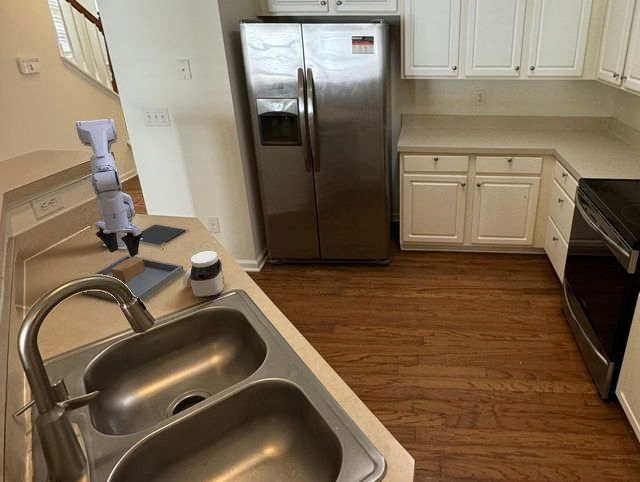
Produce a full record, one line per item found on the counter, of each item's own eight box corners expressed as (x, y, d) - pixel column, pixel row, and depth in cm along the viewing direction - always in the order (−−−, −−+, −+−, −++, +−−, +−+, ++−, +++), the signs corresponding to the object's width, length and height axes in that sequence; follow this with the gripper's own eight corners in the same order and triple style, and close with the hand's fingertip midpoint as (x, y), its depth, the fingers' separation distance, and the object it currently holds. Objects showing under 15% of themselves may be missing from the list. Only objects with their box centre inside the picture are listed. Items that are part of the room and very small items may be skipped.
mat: (128, 240, 152) (127, 238, 152) (154, 226, 163) (154, 224, 163) (160, 246, 149) (160, 244, 149) (185, 231, 160) (185, 229, 159)
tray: (76, 292, 123) (74, 284, 122) (128, 261, 139) (127, 254, 138) (137, 306, 118) (135, 298, 117) (184, 272, 134) (182, 265, 133)
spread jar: (220, 300, 121) (214, 265, 117) (177, 304, 119) (169, 268, 115) (229, 277, 132) (224, 244, 128) (190, 280, 130) (183, 246, 126)
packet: (114, 280, 128) (110, 268, 127) (133, 268, 135) (130, 257, 133) (126, 282, 127) (123, 271, 126) (145, 270, 134) (142, 259, 132)
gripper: (81, 213, 121) (92, 255, 126) (122, 220, 118) (132, 263, 123) (103, 204, 128) (114, 244, 133) (143, 210, 124) (152, 251, 129)
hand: (124, 252), depth 128 cm, fingers open, 7 cm apart
